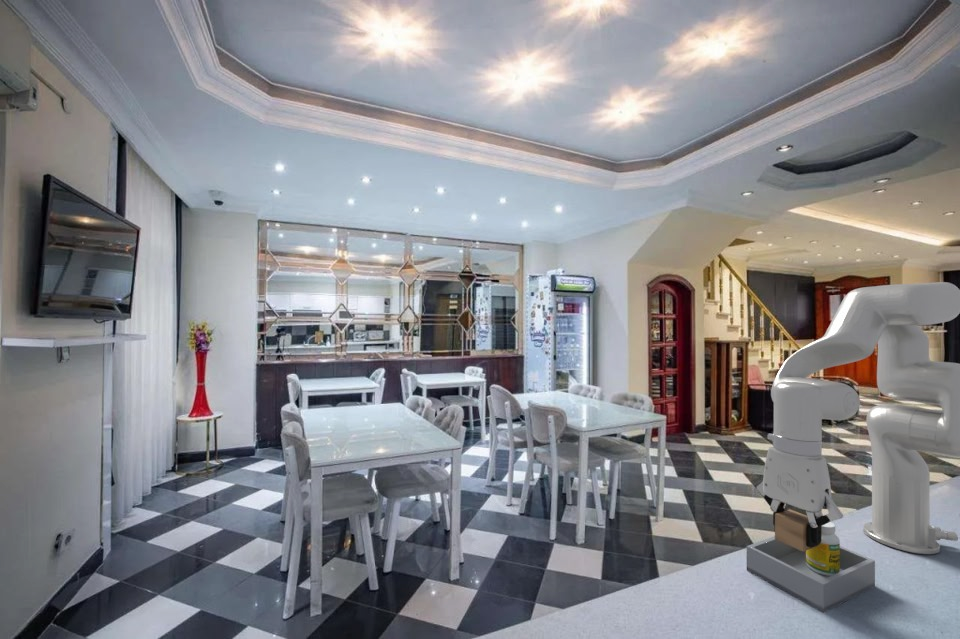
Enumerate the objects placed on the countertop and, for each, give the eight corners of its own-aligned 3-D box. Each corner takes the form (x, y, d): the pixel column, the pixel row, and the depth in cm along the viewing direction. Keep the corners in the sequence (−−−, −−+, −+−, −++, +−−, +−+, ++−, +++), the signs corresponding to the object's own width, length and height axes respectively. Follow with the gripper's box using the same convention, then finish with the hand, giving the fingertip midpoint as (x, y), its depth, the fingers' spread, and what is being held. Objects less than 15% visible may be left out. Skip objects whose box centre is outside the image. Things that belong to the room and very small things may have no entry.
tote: (797, 550, 93) (797, 528, 93) (874, 586, 80) (874, 560, 80) (746, 570, 86) (746, 546, 86) (823, 612, 73) (823, 584, 73)
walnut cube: (789, 533, 84) (790, 509, 85) (818, 546, 80) (818, 520, 80) (774, 538, 82) (774, 513, 82) (803, 551, 78) (803, 525, 78)
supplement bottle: (813, 559, 88) (813, 514, 88) (844, 572, 83) (844, 524, 83) (800, 566, 85) (800, 519, 86) (832, 580, 81) (832, 531, 81)
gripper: (741, 436, 88) (741, 522, 87) (838, 461, 72) (837, 566, 72) (763, 432, 91) (763, 516, 91) (861, 456, 75) (860, 556, 75)
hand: (796, 537), depth 81 cm, fingers closed on walnut cube, 5 cm apart
